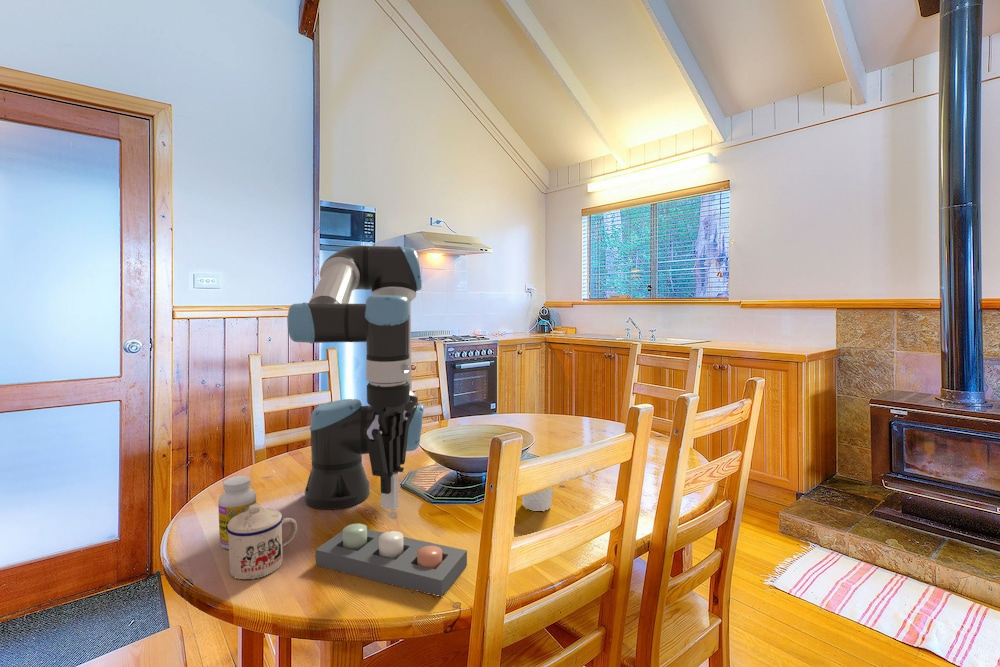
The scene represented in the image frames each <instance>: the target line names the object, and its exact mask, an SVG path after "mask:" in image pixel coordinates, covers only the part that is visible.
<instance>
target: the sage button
mask: <svg viewBox="0 0 1000 667" xmlns="http://www.w3.org/2000/svg"><path fill="white" fill-rule="evenodd" d="M367 529H368V526H367V525H366V524H363V523H352V524H348V525H346V526H345V527H344V528H343V529H342V531H343V548H347V549H352V550H356V551H358V550H360V549H361V548H362V547H364V546H365V545H366V544H367Z"/></svg>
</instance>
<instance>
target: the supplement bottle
mask: <svg viewBox="0 0 1000 667" xmlns="http://www.w3.org/2000/svg"><path fill="white" fill-rule="evenodd" d="M222 483H223V486H222V487H223V490H224V492H223V493H221V495H220V496H219V498H218V501H217V502H218V504H217V505H218V526H219V527H218V528H219V530H218V531H219V545H220V547H222V548H223V549H225V548H226V549H225V550H229V536H228V532H227V525H228V523H229V521H230V520H231V519H232V518H233V517H235V516H236V515H238V514H240V513H243V512H245V511H247V510H249V507H250V506H251V505H253V504H257V493H256V490H254V489H252V488H250V485H251V478H250V476H249V475H248V476H247V475H237V476H232V477H229V478H227V479H225V480H224V481H223V482H222Z"/></svg>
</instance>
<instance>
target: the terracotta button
mask: <svg viewBox="0 0 1000 667" xmlns="http://www.w3.org/2000/svg"><path fill="white" fill-rule="evenodd" d="M441 563H442V549H441V548H439V547H437V546H425V547H422V548H421V549H419V550H418V552H417V565H420V566H424V567H428V568H432V569H436V568H437V567H438V566H439V565H440V564H441Z"/></svg>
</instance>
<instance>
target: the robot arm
mask: <svg viewBox="0 0 1000 667" xmlns="http://www.w3.org/2000/svg"><path fill="white" fill-rule="evenodd" d="M421 272H422V271H421V267H420V260H419V256H418V252H417V251H416V250H415V248H413V247H408V246H400V245H397V246H385V245H384V246H380V245H379V246H378V245H353V246H349V247H346V248H343V249H340V250H339V251H336V252H334V253H333V254H331V255H330V256H329V257H328V258H326V259H325V260H324V262H323V263H322V265H321V267H320V271H319V282H318V283H317V285H316V287H315V289H314V291H313V293H312V295H311V298H310V299H309V302H300V303H299V302H298V303H292V304H291V305H290V307H289V308H288V313H287V332H288V335H289V338H290V340H291V341H293V342H295V343H306V344H307V343H309V344H319V343H320V344H321V343H322V344H325V343H365V344H366V361H365V363H366V365H365V366H366V367H365V371H366V372H365V373H366V374H365V375H366V378H365V380H366V381H367V382H368V383H367V385H366V403H367V404H368V405H363V404H362V402H361V400H360V399H358V398H347V399H340V400H333V401H328V402H325V403H323V404H320V405H319V406H316V408H314V409H313V411H312V412H311V415H310V426H309V430H310V448H311V450H310V451H311V470H310V473H309V476H308V480H307V483H306V486H305V489H304V503H305V504H306V505H307V506H309V507H311V508H314V509H319V510H337V509H343V508H349V507H353V506H355V505H357V504H360V503H362V502H363V501H365V500H366V499H367V498H368V497H369V495H370V494H371V493H370V491H371V489H370V486H371V485H370V482H369V480H368V477H367V475H366V471H365V468H364V465H363V455H368V456H369V462H370V467H371V473H372V476H374V477H379V478H380V505H381V506H380V508H381V509H386V510H391V511H395V510H396V509H397V508H399V472H400V473H403V472H404V471H405V467H403V466H401V465H404V464H405V462H406V456H407V452H412V451H416V450H417V449H418V448H419V446H420V443H421V435H422V427H423V419H424V407H425V406H424V404H423V403H421V402H419V399H418V397H419V396H418V395H417V394H416V393H414V391H413V388H412V386H413V385H412V379H413V378H412V319H411V318H412V316H411V315H412V314H411V313H412V311H411V310H412V308H411V307H412V306H411V305H412V303H411V302H412V301H413V300H414V299H416V297H417V292H418V291H421V289H422V275H421ZM354 290H365V291H366V290H367V291H371V295H370V296H368V297H367V298H366V300H365V303H349V302H350V299H351V296H352V292H353V291H354Z"/></svg>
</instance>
